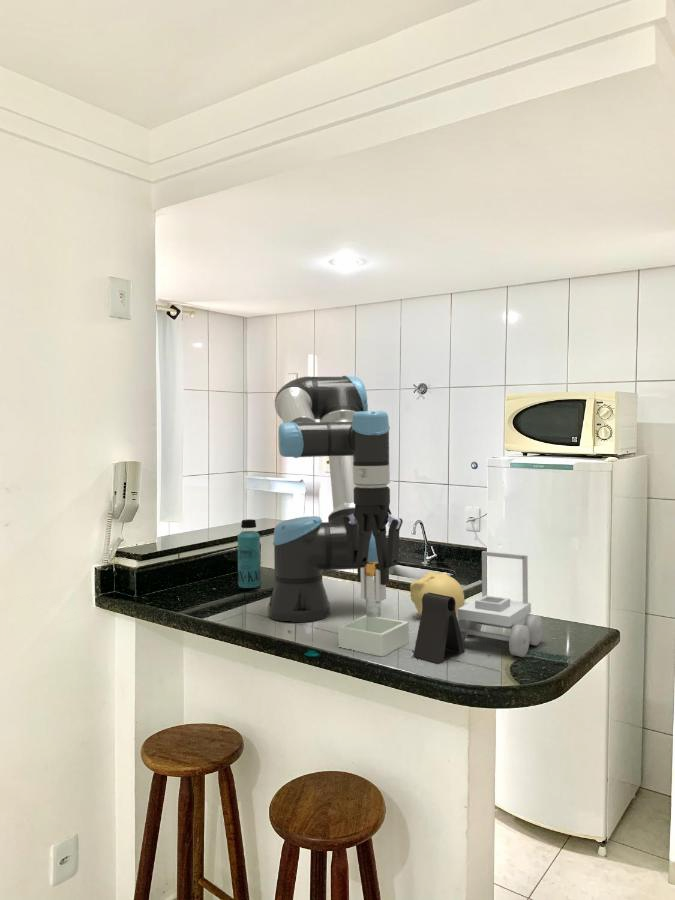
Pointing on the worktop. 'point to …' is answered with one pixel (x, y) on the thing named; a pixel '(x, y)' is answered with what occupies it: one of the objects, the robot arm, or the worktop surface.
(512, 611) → the trolley
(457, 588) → the yellow rounded lump
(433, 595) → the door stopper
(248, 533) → the beverage bottle
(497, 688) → the worktop surface
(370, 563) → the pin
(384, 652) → the tray
